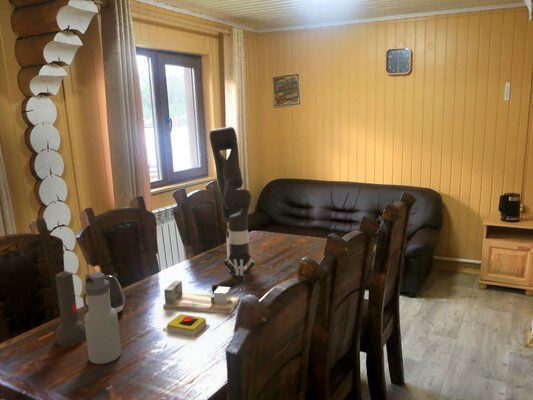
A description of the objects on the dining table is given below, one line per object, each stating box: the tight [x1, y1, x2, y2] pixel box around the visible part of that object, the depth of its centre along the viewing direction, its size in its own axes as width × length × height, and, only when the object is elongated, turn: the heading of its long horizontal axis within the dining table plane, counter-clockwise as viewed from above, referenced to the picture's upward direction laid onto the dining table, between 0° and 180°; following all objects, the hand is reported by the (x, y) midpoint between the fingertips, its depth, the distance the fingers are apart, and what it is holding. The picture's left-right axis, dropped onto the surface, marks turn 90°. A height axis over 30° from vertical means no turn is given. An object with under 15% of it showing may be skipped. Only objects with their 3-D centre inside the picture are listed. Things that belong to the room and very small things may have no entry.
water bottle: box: [82, 271, 122, 365], centre depth 137 cm, size 10×10×28 cm
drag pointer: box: [209, 293, 214, 308], centre depth 172 cm, size 10×1×3 cm, turn 167°
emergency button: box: [162, 313, 210, 338], centre depth 156 cm, size 9×4×15 cm
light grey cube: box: [213, 286, 232, 305], centre depth 173 cm, size 6×5×5 cm
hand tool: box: [211, 273, 238, 294], centre depth 193 cm, size 19×4×5 cm, turn 144°
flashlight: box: [54, 270, 86, 347], centre depth 149 cm, size 10×25×10 cm
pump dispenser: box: [105, 272, 126, 314], centre depth 170 cm, size 10×10×15 cm
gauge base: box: [162, 280, 240, 314], centre depth 175 cm, size 12×28×8 cm, turn 77°
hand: (240, 283), depth 170 cm, fingers closed
